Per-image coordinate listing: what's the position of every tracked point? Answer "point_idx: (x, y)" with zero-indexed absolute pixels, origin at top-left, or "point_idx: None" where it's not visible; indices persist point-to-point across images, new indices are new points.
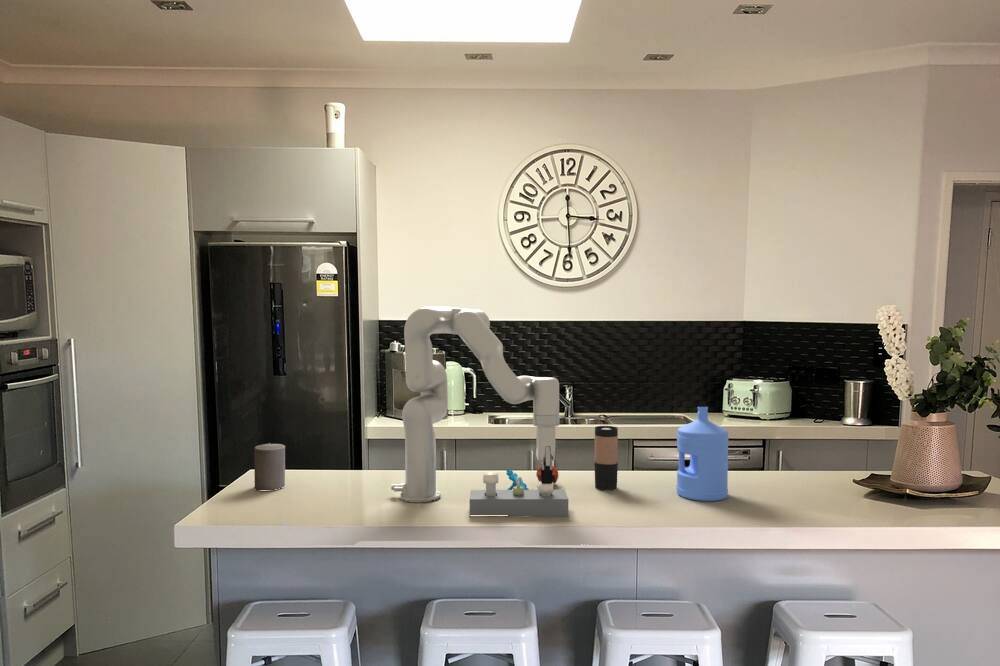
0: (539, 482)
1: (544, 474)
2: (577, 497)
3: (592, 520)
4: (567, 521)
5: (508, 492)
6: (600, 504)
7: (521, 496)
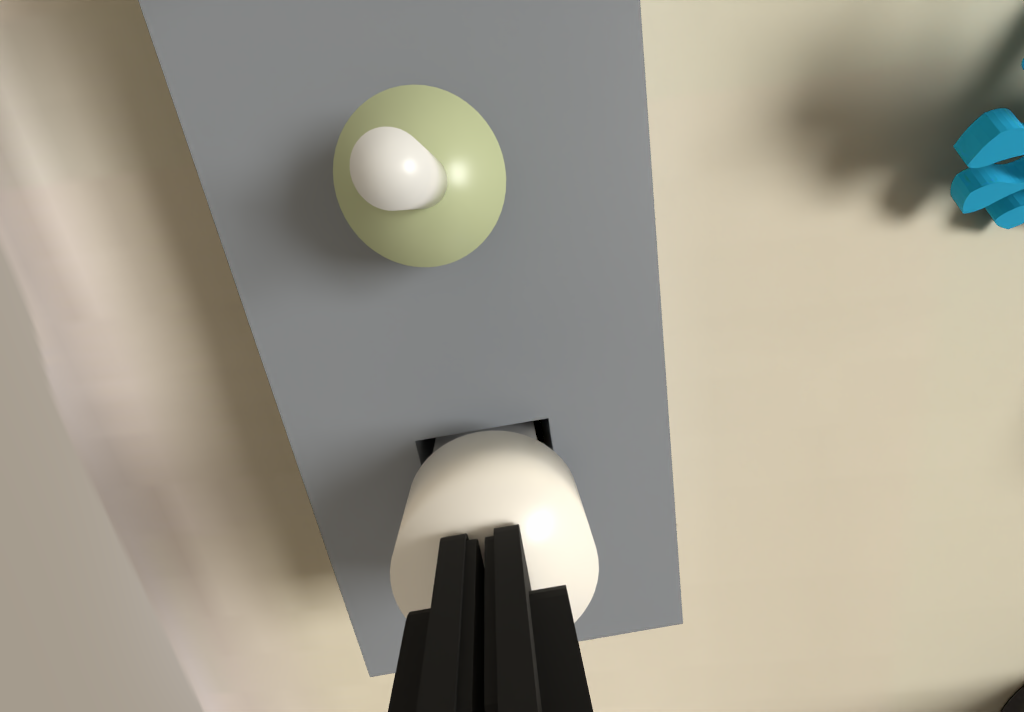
0: (509, 498)
1: (392, 705)
2: (859, 581)
3: (357, 688)
4: (292, 566)
5: (503, 26)
6: (696, 705)
7: (344, 238)
